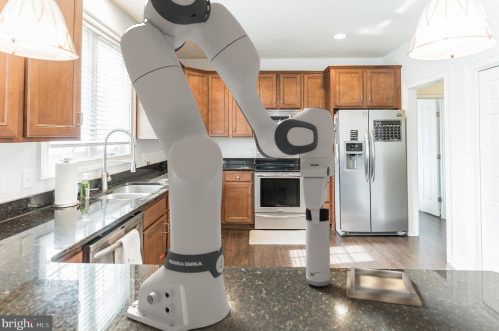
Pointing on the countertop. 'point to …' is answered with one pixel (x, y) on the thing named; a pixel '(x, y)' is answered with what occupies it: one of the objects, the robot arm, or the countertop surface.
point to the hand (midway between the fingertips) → (317, 221)
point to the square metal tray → (381, 286)
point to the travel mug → (318, 249)
